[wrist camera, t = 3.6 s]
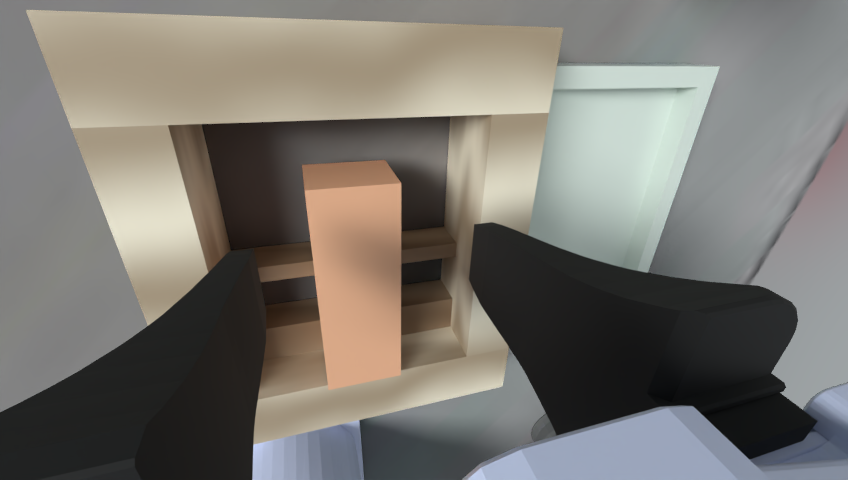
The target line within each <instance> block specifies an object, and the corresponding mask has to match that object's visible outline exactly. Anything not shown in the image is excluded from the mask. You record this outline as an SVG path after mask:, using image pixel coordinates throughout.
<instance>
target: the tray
mask: <svg viewBox="0 0 848 480" xmlns="http://www.w3.org/2000/svg"><path fill="white" fill-rule="evenodd" d="M718 70H719V66H709V65H700V64H682V63H557V69H556V74H555V80H554V86H553V92H552V98H551V104H550V110H549V116H548V121H547V127H546V133H545V139H544V145H543V151H542V157H541V162H540V168H539V174H538V180H537V186H536V192H535V198H534V204H533V209H532V215H531V221H530V227H529V233H528V235H529V236H531V237H534V238H536V239H538V240H541V241H543V242H546V243H548V244H551V245H553V246H556V247H559V248H561V249H564V250H567V251H570V252H572V253H575V254H578V255H581V256H584V257H587V258H590V259H593V260H597V261H601V262H604V263H608V264H611V265H615V266H619V267H623V268H627V269H631V270H636V271H641V272H646V273H648V271H649V268H650V265H651V262H652V260H653V257H654V254H655V251H656V248H657V245H658V242H659V239H660V237H661V234H662V231H663V228H664V225H665V222H666V219H667V217H668V214H669V211H670V208H671V205H672V202H673V199H674V196H675V194H676V191H677V188H678V185H679V182H680V179H681V176H682V174H683V171H684V168H685V165H686V162H687V159H688V156H689V153H690V151H691V148H692V145H693V142H694V139H695V136H696V133H697V131H698V128H699V125H700V122H701V119H702V116H703V113H704V110H705V108H706V105H707V102H708V99H709V96H710V93H711V90H712V88H713V85H714V82H715V79H716V76H717V73H718Z"/></svg>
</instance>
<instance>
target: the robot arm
mask: <svg viewBox="0 0 848 480" xmlns="http://www.w3.org/2000/svg"><path fill="white" fill-rule="evenodd" d="M469 281H470V283H471V286H472V288H473V290H474V292H475V294H476V296H477V298H478V300H479V303H480V305H481V306H482V308H483V309H484V311H485V312H486V314H487V315H488V317H489V318H490V320H491V321H492V323H493V324H494V326H495V327H496V329H497V330H498V332H499V333H500V335H501V336H502V338H503V339H504V340H505V342H506V343H507V345H508V346H509V348H510V349H511V351H512V352H513V354H514V355H515V357H516V358H517V360H518V361H519V363H520V365H521V366H522V368H523V370H524V371H525V373H526V375H527V377H528V379H529V381H530V383H531V384H532V386H533V388H534V390H535V392H536V394H537V396H538V398H539V400H540V402H541V404H542V406H543V408H544V410H545V412H546V414H547V416H548V418H549V420H550V422H551V424H552V426H553V428H554V431H555V433H556V435H557V436H554V437H550V438H547V439H543V440H540V441H536V442H533V443H529V444H526V445H522V446H518V447H515V448H513V449H511V450H509V451H506V452H504V453H502V454H500V455H497V456H495V457H493V458H491V459H489V460H486V461H484V462H482V463H480V464H479V465H478V466H477V467H476V468H474V469H473V470H472V471H471V472H470V473H469V474H468V475H466V476H465V477H464V478H463V479H462V480H848V382H847V383H844V384H840V385H837V386H834V387H831V388H827V389H825V390H822V391H821V392H819V393H817V394H816V395H815V396H813V397H812V398H811V399H810V401H809V402H808V403H807V404H806V406H805V407H804V409H803V410H802V409H801V408H799V407H798V406H797V405H795V404H794V403H793V402H791V401H790V400H789V399H787V398H786V397H785V396H783V395H782V394H781V393H779V392H782V391H784V389H785V388H786V386H785V384H784V382H782V381H781V380H780V379H778V378H777V377H775V376H774V375H773V374H771V372H772V370H773V369H774V367H775V365H776V364H777V362H778V360H779V359H780V357H781V356H782V354H783V352H784V351H785V349H786V347H787V346H788V344H789V342H790V340H791V339H792V337H793V335H794V333H795V330H796V326H797V322H798V318H797V310H796V308H795V306H794V305H793V304H792V302H790V301H789V300H787V299H785V298H783V297H781V296H779V295H778V294H776V293H774V292H772V291H770V290H769V289H766V288H763V287H760V286H752V285H741V284H728V283H715V282H704V281H696V280H689V279H681V278H674V277H668V276H662V275H656V274H651V273H646V272H641V271H636V270H631V269H627V268H623V267H619V266H615V265H611V264H608V263H604V262H601V261H597V260H593V259H590V258H587V257H584V256H581V255H578V254H575V253H572V252H570V251H567V250H564V249H561V248H559V247H556V246H553V245H551V244H548V243H546V242H543V241H541V240H538V239H536V238H534V237H531V236H529V235H526V234H524V233H521V232H519V231H517V230H514V229H512V228H509V227H506V226H503V225H500V224H497V223H493V222H490V223H481V224H474V231H473V242H472V252H471V262H470V273H469ZM265 346H266V307H265V302H264V297H263V292H262V287H261V282H260V277H259V272H258V267H257V262H256V257H255V252H254V249H248V250H239V251H230V252H228V253H227V254H226V255H225V256H224V257H223V258H222V259H221V260H220V261H219V262H218V263H217V264H216V265H215V266H214V267H213V268H212V269H211V270H210V271H209V272H208V273H207V274H206V275H205V276H204V277H203V278H202V279H201V280H200V281H199V282H198V283H197V284H196V285H195V286H194V287H193V288H192V289H191V290H190V291H189V292H188V293H187V294H185V295H184V296H183V297H182V298H181V299H180V300H179V301H178V302H176V303H175V304H174V305H173V306H172V307H171V308H170V309H168V310H167V311H166V312H165V313H164V314H163V315H161V316H160V317H159V318H158V319H156V320H155V321H154V322H152V323H151V324H150V325H149V326H147V327H146V328H145V329H143V330H142V331H140V332H139V333H138V334H136V335H135V336H133V337H132V338H131V339H129V340H128V341H126V342H125V343H123V344H122V345H120V346H119V347H117V348H116V349H114V350H112V351H111V352H109V353H108V354H106V355H104V356H103V357H101V358H99V359H98V360H96V361H95V362H93V363H91V364H90V365H88V366H87V367H85V368H83V369H82V370H80V371H78V372H77V373H75V374H73V375H71V376H70V377H68V378H66V379H64V380H62V381H60V382H59V383H57V384H55V385H53V386H51V387H50V388H48V389H46V390H44V391H42V392H40V393H38V394H36V395H34V396H32V397H30V398H28V399H26V400H24V401H23V402H21V403H19V404H17V405H15V406H13V407H10V408H8V409H6V410H4V411H2V412H0V480H364V473H363V459H362V446H361V433H360V420H357V421H353V422H349V423H344V424H340V425H336V426H331V427H327V428H323V429H319V430H314V431H310V432H306V433H301V434H297V435H293V436H289V437H284V438H280V439H276V440H272V441H267V442H263V443H259V444H254V426H255V416H256V408H257V402H258V395H259V388H260V381H261V374H262V368H263V361H264V353H265ZM253 444H254V445H253Z"/></svg>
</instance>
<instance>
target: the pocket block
mask: <svg viewBox="0 0 848 480" xmlns="http://www.w3.org/2000/svg"><path fill="white" fill-rule="evenodd" d="M26 12H27V15H28V17H29V20H30V22H31V25H32V28H33V30H34V33H35V35H36V38H37V40H38V43H39V46H40V48H41V51H42V53H43V56H44V59H45V61H46V64H47V66H48V69H49V71H50V74H51V77H52V79H53V82H54V84H55V87H56V90H57V92H58V95H59V97H60V100H61V102H62V105H63V108H64V110H65V113H66V115H67V118H68V120H69V123H70V126H71V128H72V131H73V133H74V136H75V139H76V141H77V144H78V146H79V149H80V151H81V154H82V157H83V159H84V162H85V164H86V167H87V170H88V172H89V175H90V177H91V180H92V182H93V185H94V188H95V190H96V193H97V195H98V198H99V200H100V203H101V206H102V208H103V211H104V213H105V216H106V219H107V221H108V224H109V226H110V229H111V231H112V234H113V237H114V239H115V242H116V244H117V247H118V249H119V252H120V255H121V257H122V260H123V262H124V265H125V268H126V270H127V273H128V275H129V278H130V280H131V283H132V286H133V288H134V291H135V293H136V296H137V299H138V301H139V304H140V306H141V309H142V311H143V314H144V317H145V319H146V322H147V324H148V326H149V325H150V324H151V323H152V322H154V321H155V320H156V319H158V318H159V317H160V316H161V315H163V314H164V313H165V312H166V311H167V310H168V309H170V308H171V307H172V306H173V305H174V304H175V303H176V302H178V301H179V300H180V299H181V298H182V297H183V296H184V295H185V294H187V293H188V292H189V291H190V290H191V289H192V288H193V287H194V286H195V285H196V284H197V283H198V282H199V281H200V280H201V279H202V278H203V277H204V276H205V275H206V274H207V273H208V272H209V271H210V270H211V269H212V268H213V267H214V266H215V265H216V264H217V263H218V262H219V261H220V260H221V259H222V258H223V257H224V256H225V255H226V254H227V253H228V252H230V251H239V250H248V249H254V252H255V257H256V262H257V267H258V272H259V277H260V282H268V281H276V280H283V279H291V278H298V277H306V276H313V275H315V273H314V265H313V257H312V248H311V241H310V242H301V243H292V244H283V245H273V246H264V247H255V248H246V249H237V250H231V248H230V244H229V239H228V235H227V231H226V227H225V222H224V218H223V214H222V209H221V205H220V201H219V197H218V192H217V188H216V184H215V179H214V175H213V171H212V167H211V162H210V158H209V154H208V150H207V145H206V141H205V137H204V132H203V128H202V124H218V123H249V122H280V121H311V120H342V119H373V118H404V117H435V116H450V129H449V147H448V165H447V182H446V200H445V218H444V227H436V228H427V229H418V230H409V231H401V264H403V263H411V262H418V261H426V260H433V259H441V258H442V271H441V279H440V280H433V281H427V282H420V283H413V284H406V285H401V375H399V376H395V377H390V378H385V379H380V380H375V381H370V382H366V383H361V384H356V385H351V386H346V387H342V388H337V389H332V390H328V381H327V373H326V365H325V357H324V348H323V340H322V332H321V323H320V315H319V307H318V298H312V299H305V300H298V301H291V302H285V303H278V304H271V305H265V307H266V346H265V353H264V361H263V368H262V374H261V381H260V388H259V395H258V402H257V408H256V416H255V426H254V444H259V443H263V442H267V441H272V440H276V439H280V438H284V437H289V436H293V435H297V434H301V433H306V432H310V431H314V430H319V429H323V428H327V427H331V426H336V425H340V424H344V423H349V422H353V421H357V420H361V419H366V418H370V417H374V416H378V415H383V414H387V413H391V412H396V411H400V410H404V409H408V408H413V407H417V406H421V405H426V404H430V403H434V402H438V401H443V400H447V399H451V398H455V397H460V396H464V395H468V394H473V393H477V392H481V391H485V390H490V389H494V388H498V387H502V386H503V380H504V374H505V368H506V362H507V356H508V350H509V346H508V345H507V343H506V342H505V340H504V339H503V338H502V336H501V335H500V333H499V332H498V330H497V329H496V327H495V326H494V324H493V323H492V321H491V320H490V318H489V317H488V315H487V314H486V312H485V311H484V309H483V308H482V306H481V305H480V303H479V300H478V298H477V296H476V294H475V292H474V290H473V288H472V286H471V283H470V281H469V273H470V262H471V252H472V242H473V231H474V224H481V223H490V222H493V223H497V224H500V225H503V226H506V227H509V228H512V229H514V230H517V231H519V232H521V233H524V234H526V235H528V233H529V227H530V221H531V215H532V209H533V204H534V198H535V192H536V186H537V180H538V174H539V168H540V162H541V157H542V151H543V145H544V139H545V133H546V127H547V121H548V116H549V110H550V104H551V98H552V92H553V86H554V80H555V74H556V69H557V63H558V57H559V51H560V45H561V39H562V33H563V28H555V27H525V26H495V25H465V24H435V23H405V22H375V21H344V20H314V19H284V18H254V17H224V16H194V15H164V14H134V13H104V12H73V11H43V10H26ZM254 444H253V445H254Z"/></svg>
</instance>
